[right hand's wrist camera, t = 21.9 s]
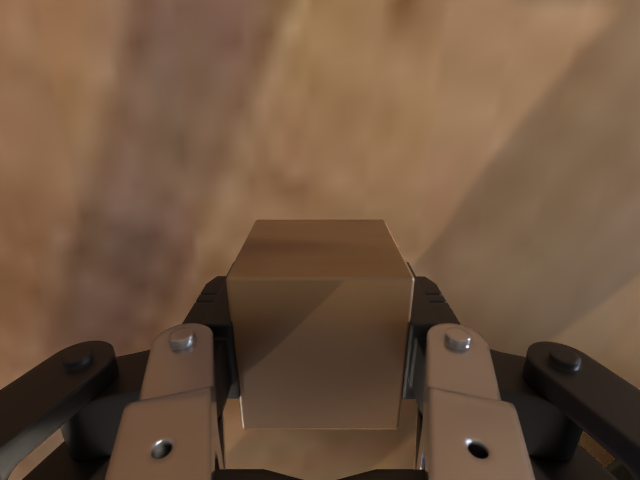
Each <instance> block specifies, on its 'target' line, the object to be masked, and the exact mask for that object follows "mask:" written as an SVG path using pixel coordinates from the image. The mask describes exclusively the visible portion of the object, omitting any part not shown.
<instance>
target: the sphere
mask: <svg viewBox="0 0 640 480" xmlns="http://www.w3.org/2000/svg"><path fill="white" fill-rule="evenodd" d="M606 469H607V470H608V471H609V472H610V473H611V474H612V475H613V476H615V477H616V478H617V479H618V480H634V479H633V477H632V475H631V473H630V472H629V471H628V469H627V468H626V467H625V466H624V465H623V464H622V463H621V462H620V461H619V460H617V459H615V460H614V461H613V462H612V463H610V464H609V465H608V466H607V467H606Z"/></svg>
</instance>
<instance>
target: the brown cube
mask: <svg viewBox="0 0 640 480" xmlns="http://www.w3.org/2000/svg"><path fill="white" fill-rule="evenodd" d="M414 281H415V279H414V276H413V274H412V272H411V270H410V269H409V267H408V265H407V263H406V261H405V259H404V257H403V255H402V253H401V251H400V249H399V247H398V245H397V244H396V242H395V240H394V238H393V236H392V234H391V232H390V230H389V228H388V226H387V224H386V222H385V221H384V220H257V221H256V222H255V224H254V226H253V228H252V229H251V231H250V233H249V235H248V237H247V239H246V241H245V243H244V245H243V247H242V249H241V251H240V253H239V254H238V256H237V258H236V260H235V262H234V264H233V266H232V268H231V270H230V272H229V274H228V276H227V278H226V283H227V293H228V302H229V311H230V320H231V322H232V323H233V333H234V342H235V352H236V361H237V370H238V380H239V389H240V398H239V403H240V412H241V422H242V427H243V429H398V427H399V419H400V410H401V401H402V389H403V380H404V371H405V362H406V352H407V343H408V334H409V324H410V318H411V308H412V299H413V290H414Z"/></svg>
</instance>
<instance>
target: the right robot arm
mask: <svg viewBox="0 0 640 480" xmlns="http://www.w3.org/2000/svg"><path fill="white" fill-rule="evenodd" d="M406 263H407V265H408V267H409V269H410V270H411V272H412V274H413V276H414V279H415V281H414V290H413V299H412V308H411V318H410V324H409V334H408V343H407V352H406V362H405V371H404V380H403V389H402V398H403V399H416V402H417V405H418V408H417V415H416V429H415V451H414V469H375V470H372V471H368V472H364V473H360V474H357V475H353V476H349V477H346V478H342V479H338V480H618V479H617V478H616V477H615V476H613V475H612V474H611V473H610V472H609V471H608V470H607V469H606V468H605V467H603V466H602V465H601V464H600V463H599V462H598V461H597V460H596V459H595V458H594V457H592V456H591V455H590V454H589V453H588V452H587V451H586V450H585V449H584V448H582V447H581V446H580V445H579V444H578V442H579V439H580V436H581V434H582V431H583V430H584V431H585V432H586V433H587V434H588V435H589V436H591V437H592V438H593V439H594V440H595V441H596V442H598V443H599V444H600V445H601V446H602V447H603V448H605V449H606V450H607V451H608V452H609V453H610V454H612V455H613V456H614V457H615V458H616V459H617V460H619V461H620V462H621V463H622V464H623V465H624V466H625V467H626V468H627V469H628V471H629V472H630V473H631V475H632V477H633V479H634V480H640V390H639V389H637V388H636V387H634V386H633V385H631V384H630V383H628V382H627V381H625V380H624V379H622V378H621V377H619V376H617V375H616V374H614V373H613V372H611V371H610V370H608V369H607V368H605V367H604V366H602V365H601V364H599V363H598V362H596V361H595V360H593V359H592V358H590V357H589V356H587V355H586V354H584V353H582V352H580V351H578V350H576V349H574V348H572V347H569V346H566V345H563V344H559V343H554V342H537V343H534V344H532V345H531V346H530V347H529V348H528V351H527V355H526V357H521V356H516V355H511V354H507V353H502V352H498V351H494V350H491V349H489V345H488V342H487V341H486V339H485V338H484V337H483V336H482V335H481V334H480V333H478V332H477V331H475V330H473V329H471V328H469V327H466V326H463V325H461V324H460V323H459V321H458V320H457V318H456V316H455V315H454V313H453V311H452V310H451V308H450V306H449V305H448V303H446V300H445V298H444V297H443V295H441V292H440V290H439V289H438V287H437V285H436V284H435V283H433V282H432V281H430V280H429V279H427V278H426V277H416V276H415V274H414V272H413V270H412V268H411V266H410V265H409V263H408V262H406ZM233 264H234V263H233ZM233 264H232V266H233ZM232 266H231V268H232ZM231 268H230V270H231ZM230 270H229V272H230ZM229 272H228V274H229ZM228 274H227V276H228ZM227 276H217V277H216V278H214V279H213V280H211V281H210V282H209V283H207V284H206V285H205V287H204V289H203V290H202V292H201V295H199V297H198V299H197V300H196V303H195V304H194V305H193V307H192V309H191V310H190V312H189V313H188V315H187V317H186V318H185V320H184V322H183V323H182V324H181V325H177V326H174V327H171V328H169V329H167V330H165V331H163V332H162V333H160V334H159V335H158V336H157V337H156V338H155V339H154V341H153V343H152V345H151V349H150V350H147V351H143V352H139V353H134V354H129V355H124V356H119V357H116V356H115V352H114V349H113V346H112V345H111V344H109V343H107V342H104V341H88V342H82V343H78V344H75V345H72V346H70V347H67V348H65V349H63V350H61V351H59V352H58V353H56V354H54V355H53V356H51V357H50V358H48V359H47V360H45V361H44V362H42V363H41V364H39V365H38V366H36V367H35V368H33V369H32V370H30V371H29V372H27V373H26V374H24V375H23V376H21V377H20V378H18V379H16V380H15V381H13V382H12V383H10V384H9V385H7V386H6V387H4V388H3V389H1V390H0V480H8V477H9V475H10V474H11V472H12V471H13V469H14V468H15V467H16V466H17V464H18V463H19V462H20V461H21V460H23V459H24V458H25V457H26V456H27V455H28V454H30V453H31V452H32V451H33V450H34V449H35V448H37V447H38V446H39V445H40V444H41V443H42V442H44V441H45V440H46V439H47V438H48V437H49V436H51V435H52V434H53V433H54V432H55V431H56V430H58V429H59V428H60V429H61V431H62V434H63V437H64V440H65V441H64V442H63V443H62V444H61V445H60V446H59V447H58V448H56V449H55V450H54V451H53V452H52V453H51V454H50V455H49V456H48V457H46V458H45V459H44V460H43V461H42V462H41V463H40V464H39V465H38V466H37V467H35V468H34V469H33V470H32V471H31V472H30V473H29V474H28V475H27V476H25V477H24V478H23V479H22V480H302V479H298V478H294V477H291V476H287V475H283V474H279V473H276V472H272V471H268V470H265V469H226V450H225V429H224V415H223V410H224V407H225V404H226V400H227V398H240V389H239V380H238V370H237V361H236V352H235V342H234V333H233V323H232V322H231V320H230V311H229V302H228V293H227V283H226V278H227Z"/></svg>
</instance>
